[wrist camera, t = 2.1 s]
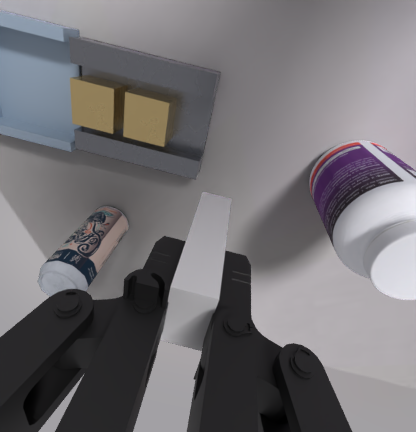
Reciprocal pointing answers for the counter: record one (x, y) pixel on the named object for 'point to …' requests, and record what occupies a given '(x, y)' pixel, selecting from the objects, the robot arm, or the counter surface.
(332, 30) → the counter surface
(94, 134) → the slot rail
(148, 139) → the block
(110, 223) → the beer can
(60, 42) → the chip tray
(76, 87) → the tan small block
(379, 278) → the pill bottle
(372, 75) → the counter surface
